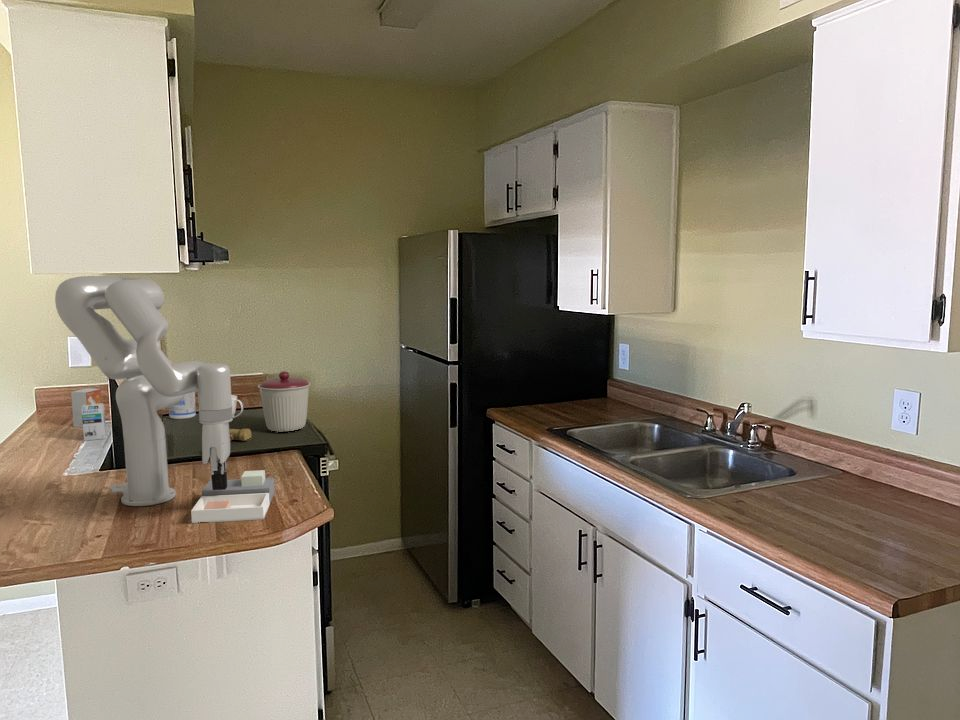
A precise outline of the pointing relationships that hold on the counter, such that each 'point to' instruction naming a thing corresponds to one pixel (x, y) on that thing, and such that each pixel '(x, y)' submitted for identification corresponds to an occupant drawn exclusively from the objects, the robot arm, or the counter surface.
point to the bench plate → (241, 488)
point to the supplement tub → (184, 407)
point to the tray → (232, 508)
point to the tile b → (253, 478)
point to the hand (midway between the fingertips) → (220, 488)
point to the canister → (285, 402)
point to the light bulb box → (93, 421)
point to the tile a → (217, 505)
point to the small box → (83, 402)
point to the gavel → (239, 434)
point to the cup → (234, 401)
